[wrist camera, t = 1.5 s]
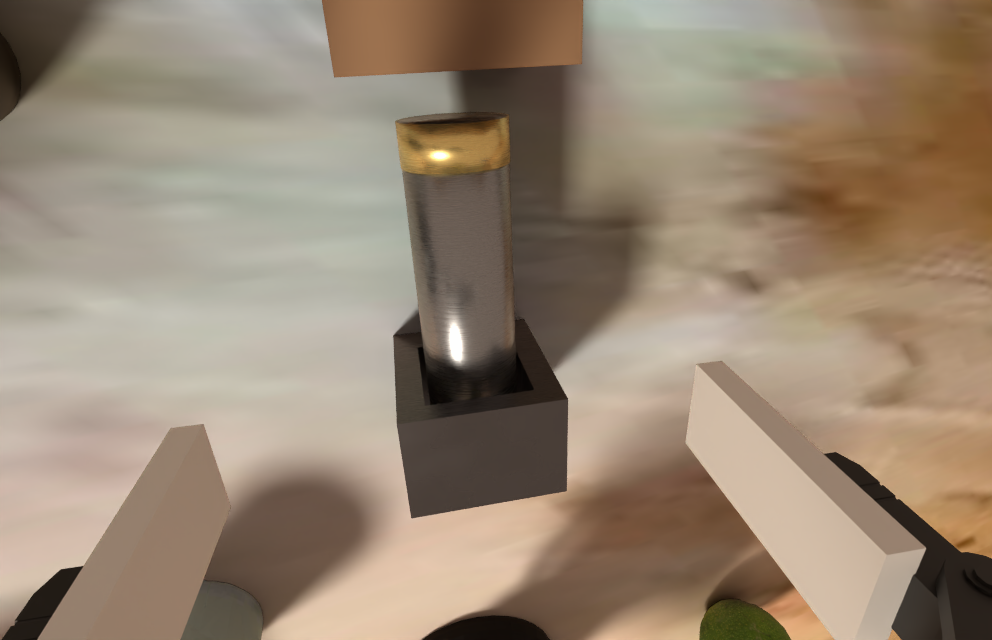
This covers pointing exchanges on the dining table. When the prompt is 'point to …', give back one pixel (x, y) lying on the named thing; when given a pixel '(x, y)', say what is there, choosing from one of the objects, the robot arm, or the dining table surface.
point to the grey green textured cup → (224, 614)
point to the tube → (461, 250)
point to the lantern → (490, 630)
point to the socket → (451, 35)
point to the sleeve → (480, 434)
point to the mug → (8, 79)
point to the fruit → (740, 623)
